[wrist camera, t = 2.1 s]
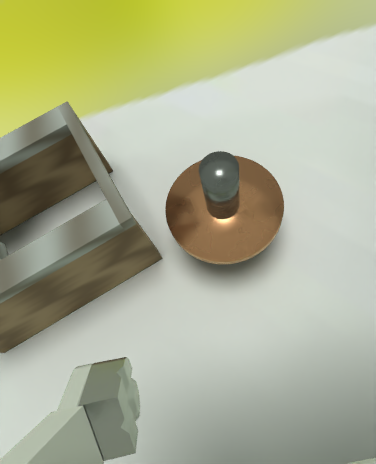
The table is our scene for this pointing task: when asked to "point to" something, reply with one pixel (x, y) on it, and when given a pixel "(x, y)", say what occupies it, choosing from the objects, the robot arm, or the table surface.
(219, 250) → the spinning top
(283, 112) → the table surface
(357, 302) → the table surface
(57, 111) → the wood and metal frame
